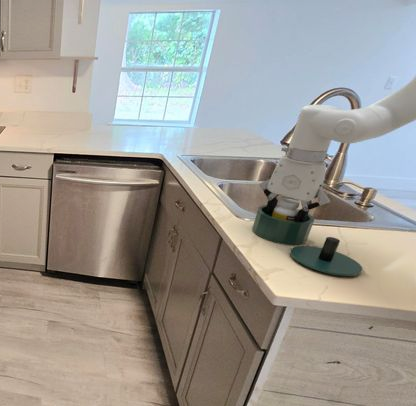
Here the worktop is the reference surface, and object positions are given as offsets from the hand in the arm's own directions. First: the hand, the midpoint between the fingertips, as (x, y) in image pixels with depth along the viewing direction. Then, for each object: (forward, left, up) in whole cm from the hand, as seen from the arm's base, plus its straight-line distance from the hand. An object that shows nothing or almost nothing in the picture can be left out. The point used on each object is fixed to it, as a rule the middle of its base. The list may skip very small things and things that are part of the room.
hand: (284, 217), depth 100 cm
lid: (-13, +7, -5) cm, 15 cm away
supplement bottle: (0, 0, -5) cm, 5 cm away
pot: (0, 0, -5) cm, 5 cm away
